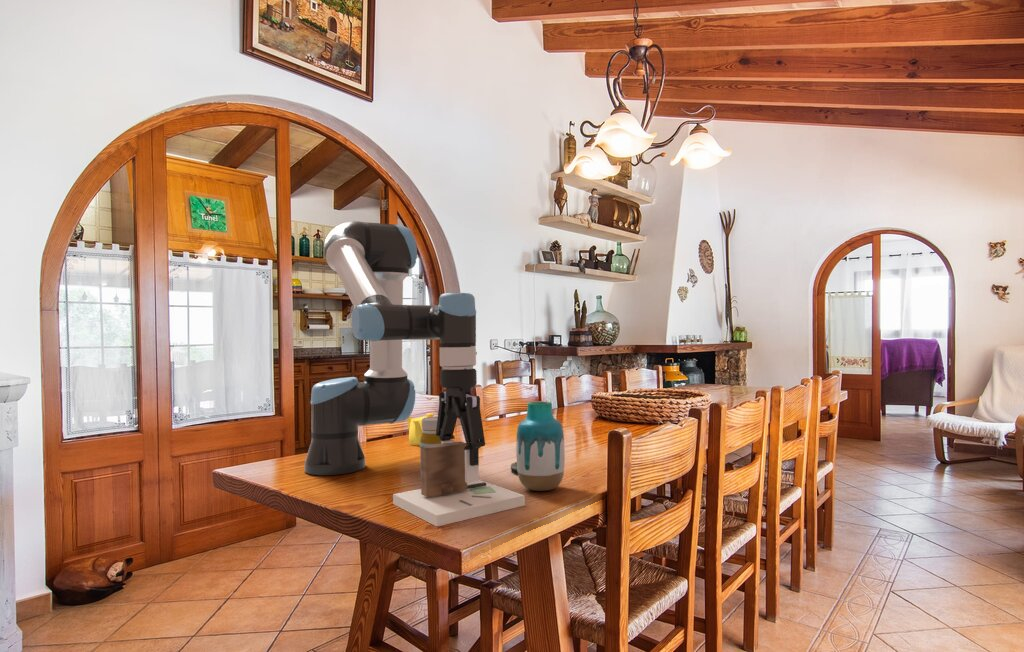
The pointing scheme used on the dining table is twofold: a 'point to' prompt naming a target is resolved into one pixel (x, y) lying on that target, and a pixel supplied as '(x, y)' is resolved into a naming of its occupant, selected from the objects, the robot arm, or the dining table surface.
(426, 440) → the bottle
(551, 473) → the vase
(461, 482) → the brown wooden block
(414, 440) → the teapot
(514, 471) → the log
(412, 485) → the dining table surface
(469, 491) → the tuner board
